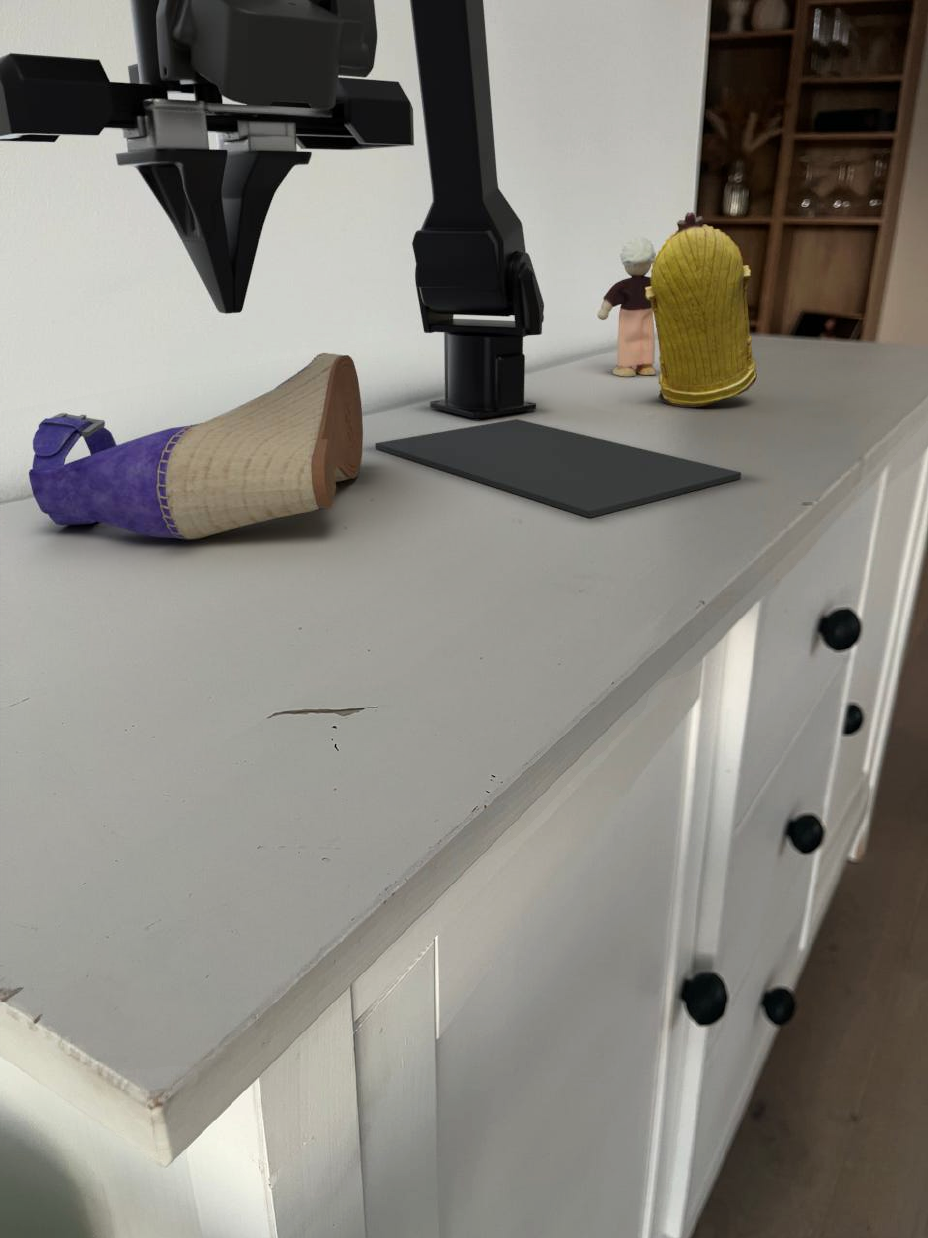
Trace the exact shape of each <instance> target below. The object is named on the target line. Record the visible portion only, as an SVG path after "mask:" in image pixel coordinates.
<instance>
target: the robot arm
mask: <svg viewBox="0 0 928 1238" xmlns="http://www.w3.org/2000/svg"><path fill="white" fill-rule="evenodd" d="M375 4H376V3H375V0H129V7H130V14H131V23H132V31H133V39H134V46H135V47H134V48H135V54H136V55H135V56H136V62H137V63H134V64H131V65H128V66H127V72H128V78H129V82H121V81H120V82H118V81H111V80H110V78H109V77H108V74H107V72H106V70H105V68H104V66H103V64H102V62H101V59H97V58H96V59H95V58H82V57H71V56H70V57H68V56H55V55H53V56H52V55H42V54H26V53H15V52H14V53H13V52H10V53H7V54H5V55H3V56H0V142H2V143H3V142H4V143H39V144H41V143H45V144H51V143H56V141H57V140H58V139H59V138H60V136H75V137H97V136H99V135H100V134H101V133H102V132H103V131H104V130H120V131H121V130H122V137H123V139H125V144H126V150H127V151H126V152H117V153H115V159H116V164H117V166H119V167H133V168H135V169H136V170H137V172H138V173H139V174H140V176H141V178H142V179H143V181H144V182H145V184H146V185H147V187H148V188H149V191H150V192H151V193H152V194H153V196H154V197H155V199H156V201H157V202H158V203H159V205H160V207H161V209H162V210H163V211H164V213H165V215H166V216H167V218H168V220H169V221H170V223H171V224H172V226H173V228H174V229H175V231H176V233H177V235H178V237H179V239H180V240H181V242H182V244H183V246H184V248H185V250H186V253H187V254H188V256H189V258H190V260H191V262H192V264H193V266H194V267H195V270H196V272H197V273H198V276H199V277H200V279H201V281H202V283H203V285H204V287H205V289H206V291H207V293H208V295H209V297H210V299H211V300H212V303H213V304H214V306H215V309H216V310H217V311H218V313H220V314H239V313H241V312H242V311H243V309H244V305H245V301H246V298H247V297H246V296H247V293H248V289H249V285H250V281H251V277H252V273H253V268H254V264H255V259H256V255H257V250H258V248H259V243H260V239H261V235H262V232H263V228H264V224H265V222H266V218H267V216H268V213H269V210H270V207H271V204H272V201H273V199H274V196H275V194H276V192H277V190H278V189H279V187H280V186H281V184H282V183H283V181H284V180H285V179H286V177H287V176H288V175H289V173H290V172H291V170H292V169H293V168H294V167H295V166H304V165H305V166H306V165H309V164H310V161H311V159H312V155H313V152H312V151H301V150H321V151H322V150H325V151H326V150H327V151H329V150H330V151H362V150H373V149H385V148H387V149H388V148H398V147H399V148H400V147H413V146H415V134H414V132H415V131H414V107H413V105H412V103H411V101H410V99H409V97H408V96H407V94H406V92H405V90H404V89H403V86H402V85H401V83H400V82H399V81H396V80H395V81H394V80H382V79H381V80H380V79H366V78H367V77H368V76H369V75H370V74H371V72H372V71H373V69H374V68H375V60H376V53H377V46H378V45H377V44H378V26H377V24H378V23H377V15H376V5H375ZM409 4H410V13H411V22H412V32H413V38H414V49H415V57H416V64H417V73H418V81H419V83H418V84H419V89H420V99H421V107H422V115H423V125H424V133H425V141H426V142H425V143H426V150H427V156H428V157H427V158H428V159H427V160H428V167H429V176H430V185H431V193H432V195H431V196H432V202H431V205H430V207H429V209H428V212H427V213H426V217H425V218H424V221H423V223H422V226H421V228H420V229H418V230H416V231H415V233H414V235H413V239H412V242H411V245H412V250H413V255H414V259H415V261H414V262H415V270H414V281H415V287H416V294H417V300H418V305H419V311H420V312H419V313H420V317H421V323H422V328H423V333H425V334H434V333H443V339H444V341H443V350H444V398H443V399H437V400H432V401H429V405H430V406H429V407H430V408H431V409H434V410H435V409H436V410H439V411H444V412H448V413H451V414H455V415H459V416H464V417H468V418H471V419H485V418H491V417H497V416H502V415H503V416H504V415H509V414H514V413H520V412H527V411H533V410H536V409H537V402H533V401H528V400H525V377H526V376H525V372H526V370H525V369H526V355H525V354H524V338H525V337H528V336H540V335H542V334H543V323H544V320H545V315H544V310H545V302H544V299H543V296H542V292H541V290H540V286H539V282H538V280H537V279H538V278H537V275H536V272H535V268H534V266H533V263H532V262H533V261H532V259H531V256H530V255H529V253H528V252H526V251H527V250H526V242H525V235H524V227H523V223H522V221H521V219H520V217H519V216H518V215H517V213H516V212H515V211H514V209H513V207H512V206H511V204H510V203H509V202H508V200H507V199H506V197H505V196H504V194H503V193H502V191H501V189H500V188H499V184H498V172H497V159H496V147H495V135H494V121H493V107H492V97H491V83H490V69H489V58H488V45H487V44H488V43H487V32H486V31H487V30H486V19H485V17H486V16H485V7H484V5H485V4H484V0H409ZM339 76H341V77H339ZM169 95H184V96H194V100H190V99H173V98H169ZM223 98H225V99H227V100H230V101H232V102H234V103H224V102H223ZM235 103H238V104H235ZM210 133H211V134H212V133H213V134H215V137H216V138H215V139H216V147H217V149H215V148H214V149H213V148H212V149H210V144H209V143H210V141H209V134H210ZM297 146H298V147H299V149H300V150H299V151H298V149H297ZM454 315H455V316H479V317H480V316H482V317H507V318H508V317H511V316H514V317H513V318H514V320H504V319H503V320H501V319H499V320H498V319H473V318H454Z"/></svg>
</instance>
